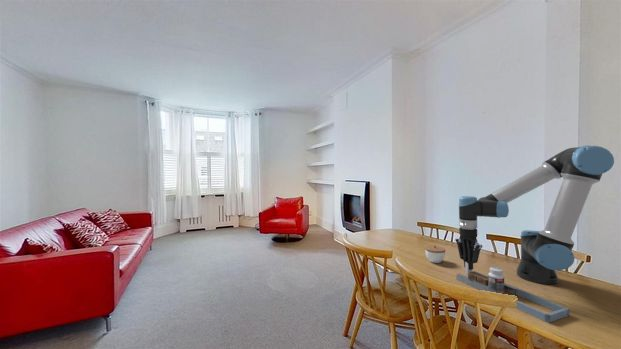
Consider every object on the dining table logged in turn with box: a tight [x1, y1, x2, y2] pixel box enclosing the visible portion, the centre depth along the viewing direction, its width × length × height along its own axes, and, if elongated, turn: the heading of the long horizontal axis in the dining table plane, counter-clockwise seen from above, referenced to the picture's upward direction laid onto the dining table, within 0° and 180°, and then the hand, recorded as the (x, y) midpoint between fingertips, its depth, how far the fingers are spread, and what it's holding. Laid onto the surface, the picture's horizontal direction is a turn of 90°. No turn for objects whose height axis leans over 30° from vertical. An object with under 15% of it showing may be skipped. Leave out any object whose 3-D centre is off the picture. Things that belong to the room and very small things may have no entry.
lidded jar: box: [424, 244, 446, 264], centre depth 147 cm, size 11×11×9 cm
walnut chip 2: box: [477, 274, 488, 286], centre depth 116 cm, size 4×4×4 cm
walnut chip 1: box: [467, 271, 482, 281], centre depth 120 cm, size 4×4×4 cm
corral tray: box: [515, 287, 570, 324], centre depth 97 cm, size 17×12×2 cm
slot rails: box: [455, 270, 518, 296], centre depth 115 cm, size 20×12×2 cm, turn 19°
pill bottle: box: [487, 266, 505, 294], centre depth 110 cm, size 6×6×10 cm
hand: (468, 275), depth 123 cm, fingers closed
